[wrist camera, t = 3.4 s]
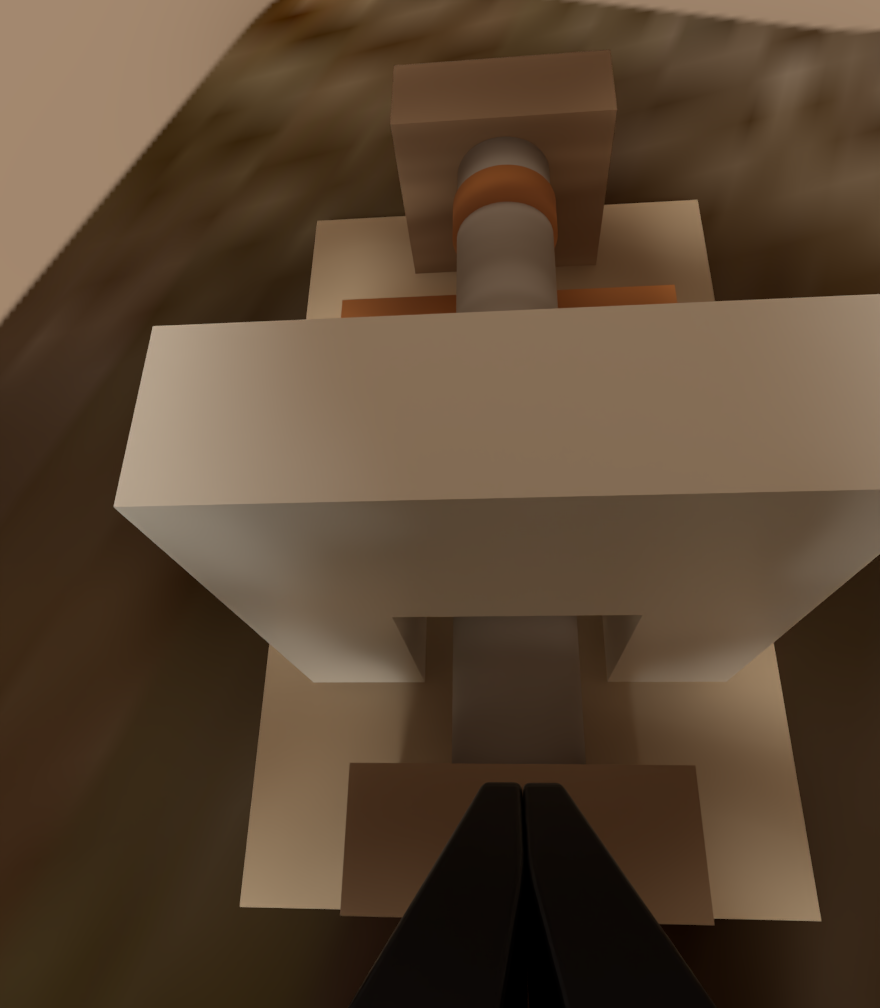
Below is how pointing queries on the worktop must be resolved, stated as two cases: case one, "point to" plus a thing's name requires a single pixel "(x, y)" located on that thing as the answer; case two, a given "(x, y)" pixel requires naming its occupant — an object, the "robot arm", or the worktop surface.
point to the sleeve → (517, 475)
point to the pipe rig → (520, 639)
